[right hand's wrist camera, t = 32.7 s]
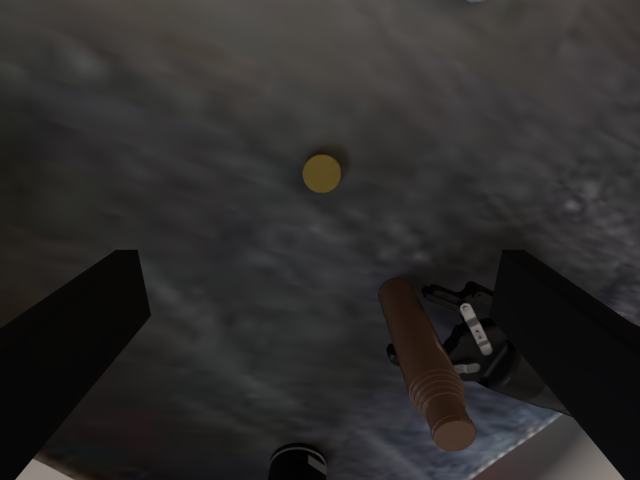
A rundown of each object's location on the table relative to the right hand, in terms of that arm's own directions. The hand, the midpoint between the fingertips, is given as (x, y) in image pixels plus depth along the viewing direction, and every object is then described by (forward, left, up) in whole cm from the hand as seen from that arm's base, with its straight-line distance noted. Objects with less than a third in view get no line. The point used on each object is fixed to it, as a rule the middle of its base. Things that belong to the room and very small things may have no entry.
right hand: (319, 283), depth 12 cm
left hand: (+10, +16, -22) cm, 29 cm away
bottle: (+10, +17, -29) cm, 34 cm away
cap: (0, 0, -27) cm, 27 cm away
